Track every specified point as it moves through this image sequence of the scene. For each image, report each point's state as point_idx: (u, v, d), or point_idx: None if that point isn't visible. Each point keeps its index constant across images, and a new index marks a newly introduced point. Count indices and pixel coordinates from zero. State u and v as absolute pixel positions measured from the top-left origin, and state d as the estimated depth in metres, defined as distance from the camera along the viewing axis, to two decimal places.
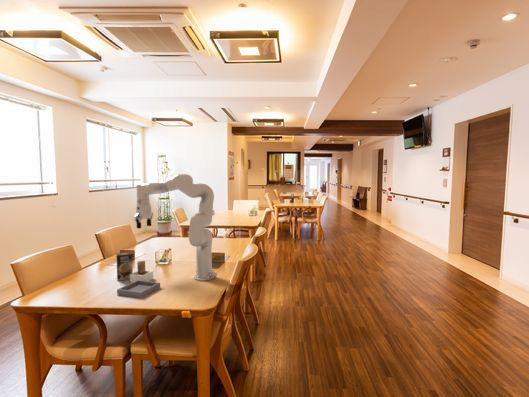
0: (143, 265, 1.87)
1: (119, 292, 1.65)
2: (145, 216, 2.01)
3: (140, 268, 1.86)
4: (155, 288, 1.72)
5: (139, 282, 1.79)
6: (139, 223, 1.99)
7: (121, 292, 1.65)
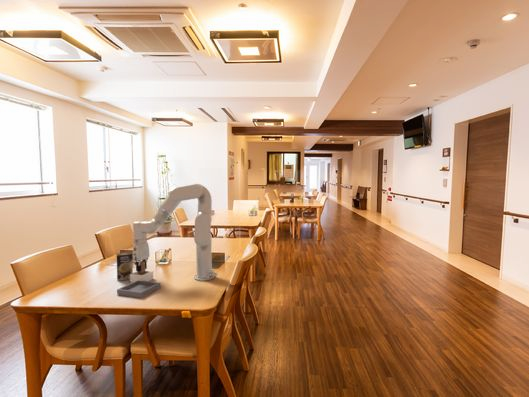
0: (143, 265, 1.87)
1: (119, 292, 1.65)
2: (142, 257, 1.85)
3: None
4: (155, 288, 1.72)
5: (139, 282, 1.79)
6: (139, 266, 1.85)
7: (121, 292, 1.65)
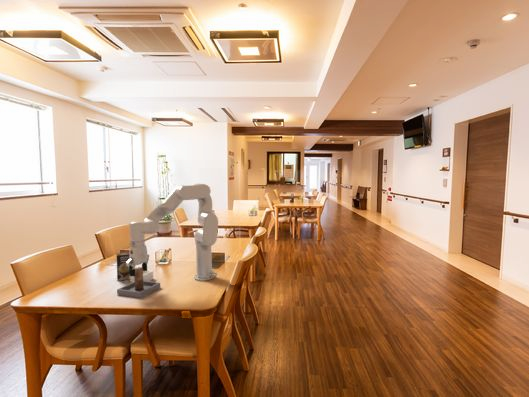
0: (140, 272, 1.69)
1: (119, 292, 1.65)
2: (140, 262, 1.67)
3: (137, 275, 1.69)
4: (155, 288, 1.72)
5: None
6: (133, 270, 1.65)
7: (121, 292, 1.65)
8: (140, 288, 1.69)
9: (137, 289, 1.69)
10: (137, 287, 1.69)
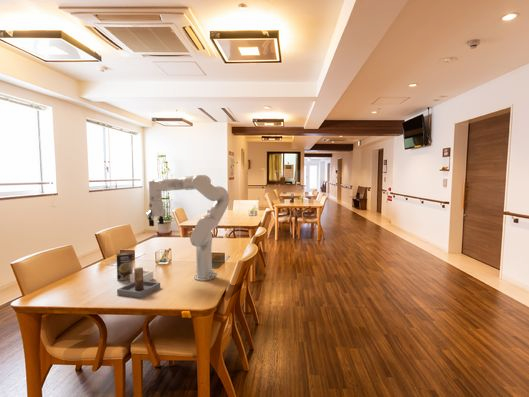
0: (141, 272, 1.69)
1: (119, 292, 1.65)
2: (157, 214, 1.94)
3: (137, 276, 1.68)
4: (155, 288, 1.72)
5: None
6: (152, 221, 1.91)
7: (121, 292, 1.65)
8: (140, 288, 1.69)
9: (137, 289, 1.69)
10: (137, 287, 1.69)
